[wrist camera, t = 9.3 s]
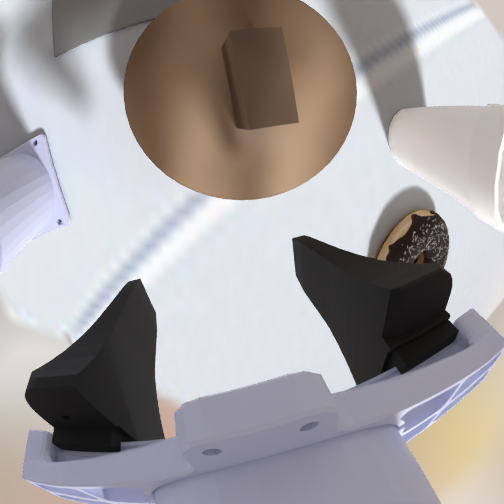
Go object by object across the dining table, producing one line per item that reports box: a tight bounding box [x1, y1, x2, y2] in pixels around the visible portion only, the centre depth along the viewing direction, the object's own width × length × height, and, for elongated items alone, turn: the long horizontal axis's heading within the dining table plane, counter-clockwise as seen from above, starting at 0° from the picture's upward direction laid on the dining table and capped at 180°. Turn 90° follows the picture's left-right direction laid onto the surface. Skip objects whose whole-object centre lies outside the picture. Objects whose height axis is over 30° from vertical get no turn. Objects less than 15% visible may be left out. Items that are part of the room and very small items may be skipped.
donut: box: [377, 210, 449, 268], centre depth 28 cm, size 11×12×4 cm
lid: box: [124, 0, 357, 200], centre depth 12 cm, size 14×14×4 cm
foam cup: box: [388, 104, 504, 232], centre depth 17 cm, size 10×9×13 cm
